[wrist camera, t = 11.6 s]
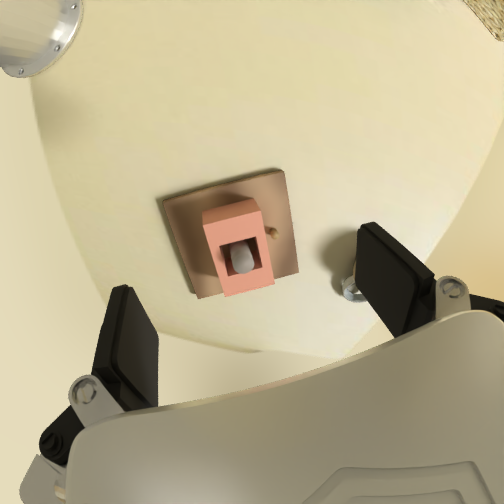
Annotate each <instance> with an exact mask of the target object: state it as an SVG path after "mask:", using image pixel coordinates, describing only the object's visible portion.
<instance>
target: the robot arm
mask: <svg viewBox="0 0 504 504" xmlns="http://www.w3.org/2000/svg"><path fill="white" fill-rule="evenodd" d="M82 15H83V3H82V0H0V67H2V69H3V70H4V71H5V72H6V73H7V74H8V75H10V76H12V77H17V78H26V77H31V76H34V75H36V74H39V73H41V72H42V71H44V70H46V69H47V68H49V67H50V66H51V65H52V64H53V63H55V62H56V61H57V60H58V59H59V58H60V57H61V56H62V55H63V53H64V52H65V51H66V49H67V48H68V47H69V46H70V44H71V42H72V41H73V39H74V38H75V35H76V33H77V31H78V29H79V26H80V23H81V20H82ZM59 49H60V50H59ZM434 275H435V274H434V273H433V272H432V271H430V270H429V269H428V268H427V267H426V266H425V265H424V264H423V263H422V262H421V261H420V260H419V259H418V258H416V257H415V256H414V255H413V254H412V253H411V252H410V251H409V250H407V249H406V248H405V247H404V246H403V245H402V244H401V243H399V242H398V241H397V240H396V239H395V238H394V237H392V236H391V235H390V234H389V233H388V232H387V231H385V230H384V229H383V228H382V227H381V226H379V225H378V224H377V223H376V222H370V223H366V224H362V225H361V227H360V229H358V231H357V251H356V267H355V284H356V286H357V288H358V289H359V290H360V292H361V293H362V294H363V296H364V297H365V298H366V300H367V301H368V302H369V304H370V305H371V306H372V308H373V309H374V310H375V312H376V313H377V314H378V316H379V317H380V318H381V320H382V321H383V323H384V324H385V325H386V327H387V328H388V329H389V331H390V332H391V334H392V335H393V336H394V339H392V340H390V341H388V342H386V343H383V344H381V345H378V346H376V347H373V348H371V349H369V350H366V351H364V352H361V353H359V354H356V355H353V356H351V357H348V358H345V359H343V360H340V361H338V362H335V363H332V364H329V365H326V366H324V367H320V368H317V369H314V370H311V371H308V372H305V373H302V374H299V375H296V376H292V377H289V378H286V379H282V380H279V381H275V382H272V383H268V384H264V385H261V386H257V387H253V388H249V389H245V390H242V391H237V392H233V393H228V394H224V395H219V396H214V397H210V398H205V399H200V400H194V401H189V402H183V403H177V404H171V405H166V406H160V407H158V346H159V338H158V334H157V332H156V330H155V328H154V326H153V325H152V323H151V321H150V319H149V317H148V316H147V314H146V312H145V310H144V308H143V306H142V304H141V302H140V301H139V299H138V297H137V295H136V293H135V291H134V289H133V288H132V287H128V285H126V284H125V285H121V286H117V287H114V288H113V289H112V292H111V295H110V299H109V302H108V306H107V310H106V314H105V318H104V322H103V324H102V326H101V330H100V334H99V339H98V343H97V348H96V352H95V357H94V362H93V367H92V372H91V375H84V376H81V377H79V378H78V379H77V380H75V381H74V383H73V384H72V385H71V387H70V390H69V394H68V396H69V397H68V398H69V401H70V404H71V405H70V406H69V407H68V408H67V409H66V410H65V411H64V412H63V413H62V414H61V415H60V416H59V417H58V418H57V419H56V420H55V421H54V422H53V423H52V424H51V425H50V426H49V427H48V428H46V430H45V431H44V432H43V433H42V435H41V437H40V441H39V448H40V452H41V454H40V456H39V455H38V454H37V455H36V457H35V458H34V460H33V462H32V464H31V466H30V468H29V469H28V471H27V473H26V475H25V477H24V479H23V481H22V483H21V486H20V497H21V500H22V501H23V503H24V504H504V302H501V301H498V300H494V299H490V298H485V297H481V296H477V295H472V294H469V291H468V287H467V286H466V284H465V283H464V282H463V281H462V280H460V279H458V278H456V277H453V276H443V277H441V278H439V279H438V280H437V281H436V280H435V279H434Z"/></svg>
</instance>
